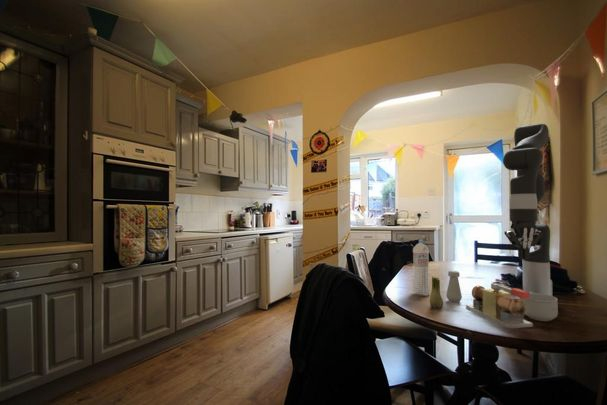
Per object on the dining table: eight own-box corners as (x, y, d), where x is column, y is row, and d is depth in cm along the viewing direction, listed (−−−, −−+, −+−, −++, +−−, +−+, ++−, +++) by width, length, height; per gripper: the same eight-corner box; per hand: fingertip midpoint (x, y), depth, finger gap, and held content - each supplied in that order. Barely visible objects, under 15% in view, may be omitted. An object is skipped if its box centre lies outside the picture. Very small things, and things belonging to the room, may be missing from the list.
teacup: (561, 326, 97) (560, 302, 97) (521, 319, 103) (520, 297, 103) (552, 314, 109) (552, 292, 109) (517, 308, 115) (516, 288, 115)
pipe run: (486, 307, 116) (486, 282, 116) (532, 326, 96) (532, 297, 97) (466, 308, 115) (466, 283, 115) (509, 328, 95) (508, 298, 95)
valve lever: (488, 287, 107) (488, 282, 107) (496, 287, 108) (496, 281, 108) (522, 299, 94) (522, 292, 94) (530, 298, 94) (530, 292, 94)
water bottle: (430, 293, 134) (429, 239, 135) (427, 297, 129) (427, 241, 129) (414, 291, 138) (414, 239, 139) (411, 294, 132) (411, 240, 133)
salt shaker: (463, 304, 119) (463, 272, 120) (448, 303, 120) (448, 272, 121) (459, 300, 125) (458, 269, 125) (444, 299, 126) (444, 269, 127)
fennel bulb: (430, 304, 119) (430, 275, 119) (444, 306, 116) (443, 276, 117) (429, 308, 114) (428, 278, 114) (442, 310, 111) (442, 279, 112)
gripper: (515, 207, 93) (516, 261, 92) (551, 207, 95) (552, 260, 94) (496, 207, 100) (497, 257, 100) (529, 207, 102) (530, 257, 102)
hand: (523, 259), depth 97 cm, fingers closed
